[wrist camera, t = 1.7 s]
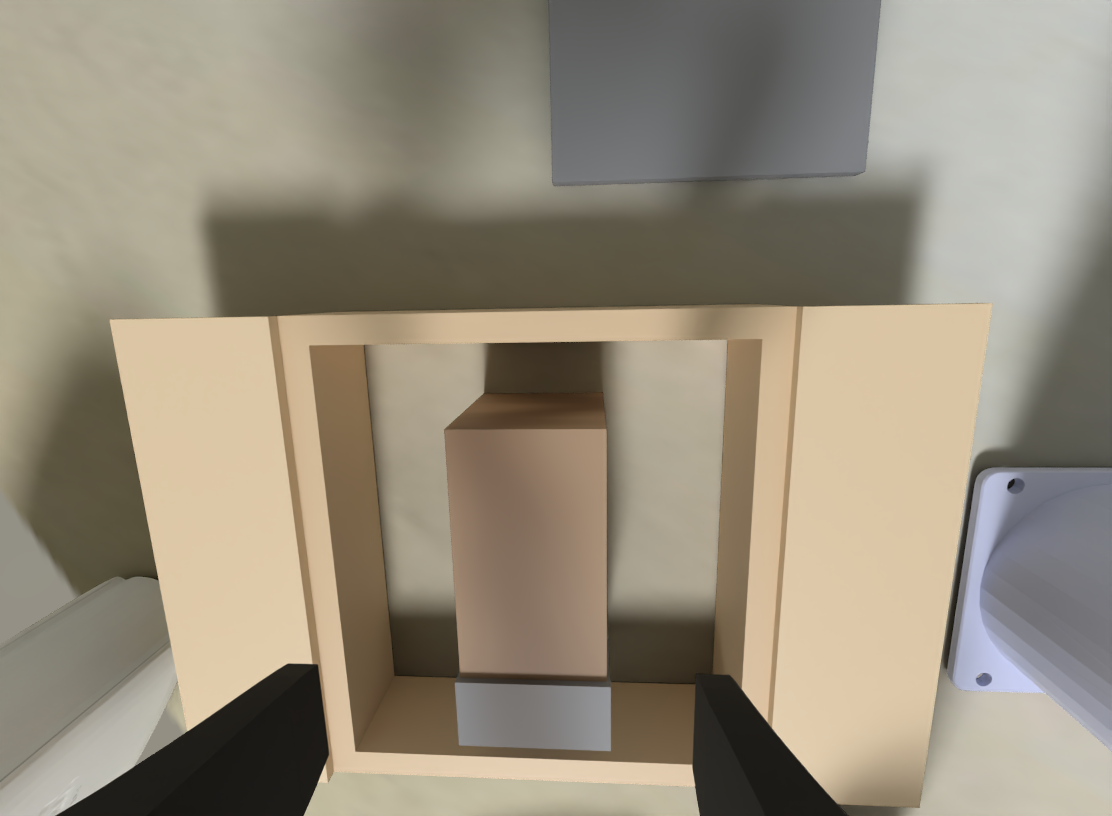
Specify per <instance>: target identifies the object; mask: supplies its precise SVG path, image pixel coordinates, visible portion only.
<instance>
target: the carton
mask: <svg viewBox="0 0 1112 816" xmlns="http://www.w3.org/2000/svg"><path fill="white" fill-rule="evenodd" d="M992 305H993V303H961V304H907V305H852V306H798V307H797V306H780V305H763V304H733V305H679V306H626V307H573V308H520V309H467V310H414V311H360V312H329V313H314V314H300V315H285V316H255V317H201V318H146V319H112V320H110V325H111V331H112V336H113V341H114V347H115V352H116V357H117V362H118V368H119V373H120V378H121V384H122V389H123V394H124V399H125V405H126V410H127V415H128V421H129V426H130V431H131V436H132V442H133V447H134V452H135V458H136V463H137V468H138V473H139V479H140V484H141V489H142V495H143V500H144V505H145V510H146V516H147V521H148V526H149V532H150V537H151V542H152V547H153V553H154V558H155V563H156V569H157V574H158V579H159V584H160V590H161V595H162V600H163V605H164V611H165V616H166V621H167V627H168V632H169V637H170V642H171V648H172V653H173V658H174V664H175V669H176V674H177V679H178V685H179V690H180V695H181V701H182V706H183V711H184V716H185V722H186V727H187V731H189V730H190V729H192V728H193V727H195V726H196V725H198V724H199V723H201V722H202V721H203V720H205V719H206V718H208V717H209V716H211V715H212V714H214V713H215V712H216V711H218V710H219V709H221V708H222V707H224V706H225V705H227V704H228V703H229V702H231V701H232V700H234V699H235V698H237V697H238V696H239V695H241V694H242V693H244V692H245V691H247V690H248V689H250V688H251V687H252V686H254V685H255V684H257V683H258V682H260V681H261V680H263V679H264V678H266V677H267V676H269V675H270V674H272V673H273V672H275V671H276V670H278V669H279V668H281V667H283V666H284V665H286V664H288V663H292V664H318V668H319V676H320V684H321V692H322V700H323V708H324V716H325V723H326V731H327V739H328V747H329V756H328V759H327V761H326V764H325V766H324V769H323V771H322V774H321V776H320V779H319V781H318V782H323V783H328V782H329V780H330V778H331V776H332V774H333V772H352V773H376V774H401V775H425V776H450V777H474V778H498V779H523V780H547V781H572V782H596V783H620V784H645V785H669V786H694V787H695V782H694V775H693V769H692V762H693V736H694V710H695V684H660V683H624V682H611V751H592V750H566V749H540V748H514V747H488V746H462V745H459V738H458V723H457V708H456V693H455V681H456V678H448V677H413V676H395V675H394V665H393V654H392V643H391V632H390V622H389V611H388V600H387V590H386V579H385V568H384V558H383V547H382V536H381V526H380V515H379V504H378V494H377V483H376V472H375V462H374V451H373V440H372V430H371V419H370V408H369V398H368V387H367V376H366V366H365V355H364V345H380V344H449V343H518V342H587V341H656V340H725V339H728V350H727V372H726V394H725V416H724V437H723V459H722V481H721V503H720V525H719V546H718V568H717V590H716V612H715V634H714V655H713V674H719V675H730V676H731V677H732V678H733V679H734V680H735V681H736V682H737V684H738V685H739V686H740V688H741V689H742V690H743V691H744V693H745V694H746V695H747V697H748V698H749V699H750V701H751V702H752V703H753V705H754V706H755V707H756V708H757V710H758V711H759V712H760V714H761V715H762V716H763V717H764V719H765V720H766V721H767V722H768V724H769V725H770V726H771V727H772V729H773V730H774V731H775V732H776V734H777V735H778V736H779V737H780V739H781V740H782V741H783V742H784V743H785V745H786V746H787V747H788V748H789V749H790V751H791V752H792V753H793V754H794V755H795V756H796V758H797V759H798V760H799V761H800V762H801V763H802V765H803V766H804V767H805V768H806V769H807V770H808V772H809V773H810V774H811V775H812V776H813V777H814V779H815V780H816V781H817V782H818V783H819V784H820V785H821V786H822V788H823V789H824V790H825V791H826V792H827V793H828V794H829V795H830V796H831V798H832V799H833V800H834V801H835V802H836V803H837V804H841V805H865V806H888V807H912V808H920V801H921V794H922V787H923V780H924V774H925V767H926V760H927V753H928V746H929V739H930V732H931V725H932V718H933V712H934V705H935V698H936V691H937V684H938V677H939V670H940V663H941V656H942V650H943V643H944V636H945V629H946V622H947V615H948V608H949V601H950V594H951V588H952V581H953V574H954V567H955V560H956V553H957V546H958V539H959V532H960V526H961V519H962V512H963V505H964V498H965V491H966V484H967V477H968V470H969V464H970V457H971V450H972V443H973V436H974V429H975V422H976V415H977V408H978V402H979V395H980V388H981V381H982V374H983V367H984V360H985V353H986V346H987V340H988V333H989V326H990V319H991V312H992Z"/></svg>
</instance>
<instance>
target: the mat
mask: <svg viewBox="0 0 1112 816" xmlns="http://www.w3.org/2000/svg"><path fill="white" fill-rule="evenodd" d="M880 7H881V0H549V41H550V91H551V141H552V183H553V185H554V186H570V185H599V184H629V183H658V182H687V181H716V180H746V179H775V178H804V177H833V176H856V175H858V174H860V173H863V172H865V170H866V159H867V148H868V137H869V126H870V116H871V105H872V94H873V83H874V72H875V61H876V51H877V40H878V29H879V18H880Z"/></svg>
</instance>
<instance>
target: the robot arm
mask: <svg viewBox="0 0 1112 816" xmlns="http://www.w3.org/2000/svg"><path fill="white" fill-rule="evenodd" d="M1012 479H1015V483H1014V485H1013V486H1012V487H1011V488H1010V489H1007V485H1008V483H1009V481H1011V480H1012ZM981 673H983V675H982V676H980V677H979V678H977V676H978V675H979V674H981ZM947 677H948V679H949V680H950V681H951V682H952V684H953V685H954V686H955V687H957V688H958V689H960V690H964V691H992V692H1027V693H1046V694H1047V695H1048V696H1049V697H1050V698H1051V699H1052V700H1054V701H1055V702H1056V703H1057V704H1058V705H1059V706H1060V707H1062V708H1063V709H1064V710H1065V711H1066V712H1067V713H1068V714H1070V715H1071V716H1072V717H1073V718H1074V719H1075V720H1076V721H1078V722H1079V723H1080V724H1081V725H1082V726H1083V727H1084V728H1085V729H1087V730H1088V731H1089V732H1090V733H1091V734H1092V735H1093V736H1095V737H1096V738H1097V739H1098V740H1099V741H1100V742H1101V743H1103V744H1104V745H1105V746H1106V747H1107V748H1108V749H1109V750H1110V751H1112V468H988V469H986V470H984V471H982V472H981V473H980V474H979V475H978V476H977V478H976V481H975V485H974V492H973V499H972V506H971V512H970V519H969V526H968V533H967V539H966V546H965V553H964V560H963V566H962V573H961V580H960V586H959V593H958V600H957V607H956V613H955V620H954V627H953V634H952V640H951V647H950V654H949V661H948V667H947ZM328 756H329V747H328V739H327V731H326V723H325V716H324V708H323V700H322V692H321V684H320V676H319V668H318V664H292V663H288V664H286V665H284V666H283V667H281V668H279V669H278V670H276V671H275V672H273V673H272V674H270V675H269V676H267V677H266V678H264V679H263V680H261V681H260V682H258V683H257V684H255V685H254V686H252V687H251V688H250V689H248V690H247V691H245V692H244V693H242V694H241V695H239V696H238V697H237V698H235V699H234V700H232V701H231V702H229V703H228V704H227V705H225V706H224V707H222V708H221V709H219V710H218V711H216V712H215V713H214V714H212V715H211V716H209V717H208V718H206V719H205V720H203V721H202V722H201V723H199V724H198V725H196V726H195V727H193V728H192V729H190V730H189V731H187V732H186V733H185V734H183V735H182V736H180V737H179V738H177V739H176V740H174V741H173V742H171V743H170V744H169V745H167V746H165V747H164V748H162V749H161V750H159V751H158V752H156V753H155V754H153V755H151V756H150V757H148V758H147V759H145V760H144V761H142V762H141V763H139V764H138V765H136V766H134V767H133V768H131V769H130V770H128V771H127V772H125V773H124V774H122V775H121V776H119V777H117V778H116V779H114V780H113V781H111V782H110V783H108V784H107V785H105V786H104V787H102V788H100V789H99V790H97V791H96V792H94V793H92V794H91V795H89V796H87V797H86V798H84V799H83V800H81V801H79V802H77V803H76V804H74V805H72V806H71V807H69V808H67V809H66V810H64V811H62V812H61V813H59V814H57V815H56V816H303V815H304V813H305V811H306V809H307V807H308V804H309V802H310V800H311V797H312V795H313V793H314V791H315V788H316V786H317V783H318V781H319V779H320V776H321V774H322V771H323V769H324V766H325V764H326V761H327V759H328ZM692 769H693V775H694V782H695V788H696V794H697V801H698V807H699V813H700V816H848V815H847V814H846V813H845V812H844V810H843V809H842V808H841V807H840V806H839V805H838V804H837V803H836V802H835V801H834V800H833V799H832V798H831V796H830V795H829V794H828V793H827V792H826V791H825V790H824V789H823V788H822V786H821V785H820V784H819V783H818V782H817V781H816V780H815V779H814V777H813V776H812V775H811V774H810V773H809V772H808V770H807V769H806V768H805V767H804V766H803V765H802V763H801V762H800V761H799V760H798V759H797V758H796V756H795V755H794V754H793V753H792V752H791V751H790V749H789V748H788V747H787V746H786V745H785V743H784V742H783V741H782V740H781V739H780V737H779V736H778V735H777V734H776V732H775V731H774V730H773V729H772V727H771V726H770V725H769V724H768V722H767V721H766V720H765V719H764V717H763V716H762V715H761V714H760V712H759V711H758V710H757V708H756V707H755V706H754V705H753V703H752V702H751V701H750V699H749V698H748V697H747V695H746V694H745V693H744V691H743V690H742V689H741V688H740V686H739V685H738V684H737V682H736V681H735V680H734V679H733V678H732V677H731V676H730V675H719V674H696V684H695V710H694V736H693V762H692Z"/></svg>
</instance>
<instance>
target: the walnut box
mask: <svg viewBox="0 0 1112 816" xmlns="http://www.w3.org/2000/svg"><path fill="white" fill-rule="evenodd" d="M444 435H445V450H446V465H447V481H448V496H449V512H450V527H451V543H452V558H453V574H454V589H455V605H456V620H457V636H458V651H459V667H460V669H459V672H458V675H457V678H456V681H455V693H456V708H457V723H458V738H459V745H462V746H488V747H514V748H540V749H566V750H592V751H611V681H610V659H609V638H608V616H607V427H606V418H605V408H604V399H603V392H594V393H484V394H483V395H482V396H481V397H480V398H478V399H477V400H476V401H475V402H474V403H473V404H472V405H471V406H470V407H469V408H467V409H466V410H465V411H464V412H463V413H462V414H461V415H460V416H459V417H458V418H456V419H455V420H454V421H453V422H452V423H451V424H450V425H449V426H448V427H447V428H445V429H444Z"/></svg>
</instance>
